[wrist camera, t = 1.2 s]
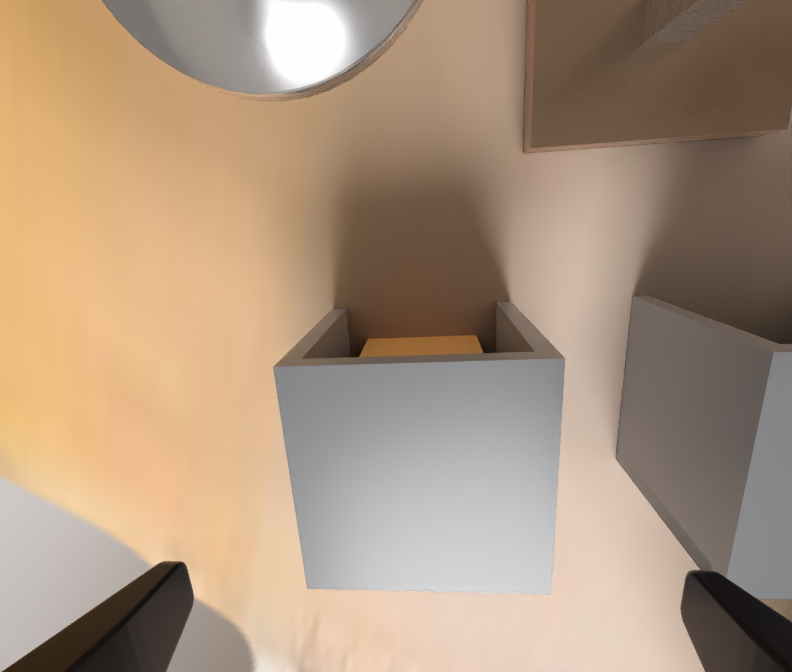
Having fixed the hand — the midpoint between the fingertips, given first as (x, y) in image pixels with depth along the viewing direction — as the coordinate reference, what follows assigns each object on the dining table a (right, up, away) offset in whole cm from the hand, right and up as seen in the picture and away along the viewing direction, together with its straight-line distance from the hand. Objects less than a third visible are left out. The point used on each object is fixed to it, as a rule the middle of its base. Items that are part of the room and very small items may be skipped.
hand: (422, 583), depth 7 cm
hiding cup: (+1, +3, +8) cm, 9 cm away
